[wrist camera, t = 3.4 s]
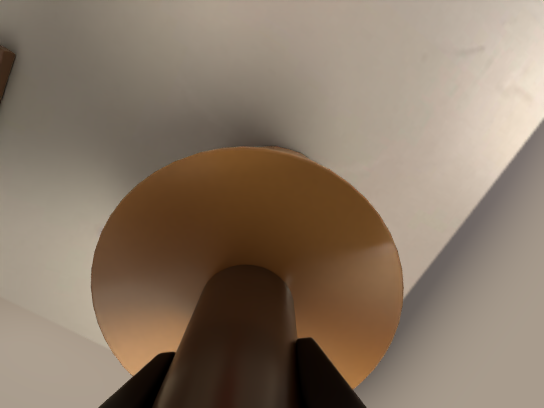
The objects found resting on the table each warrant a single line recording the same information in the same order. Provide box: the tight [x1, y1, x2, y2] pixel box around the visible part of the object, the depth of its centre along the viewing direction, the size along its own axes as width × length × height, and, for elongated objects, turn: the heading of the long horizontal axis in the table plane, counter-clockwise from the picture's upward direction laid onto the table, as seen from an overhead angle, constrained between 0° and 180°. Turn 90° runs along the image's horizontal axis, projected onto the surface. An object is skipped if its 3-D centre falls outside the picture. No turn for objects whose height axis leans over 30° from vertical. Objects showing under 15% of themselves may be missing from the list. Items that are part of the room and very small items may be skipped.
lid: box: [91, 146, 404, 408], centre depth 7 cm, size 10×10×7 cm
